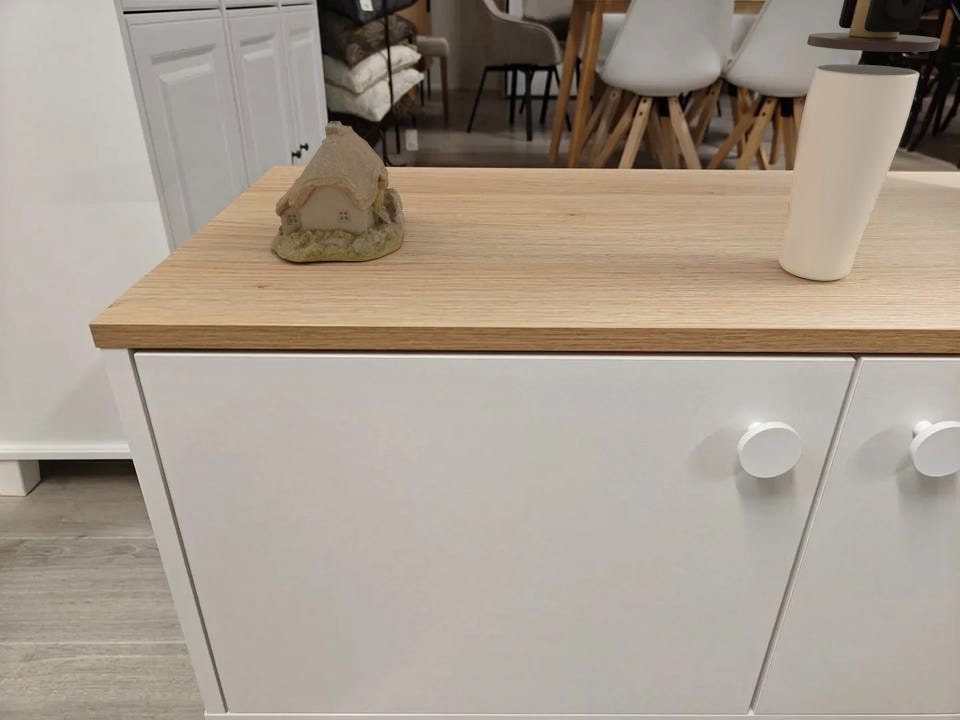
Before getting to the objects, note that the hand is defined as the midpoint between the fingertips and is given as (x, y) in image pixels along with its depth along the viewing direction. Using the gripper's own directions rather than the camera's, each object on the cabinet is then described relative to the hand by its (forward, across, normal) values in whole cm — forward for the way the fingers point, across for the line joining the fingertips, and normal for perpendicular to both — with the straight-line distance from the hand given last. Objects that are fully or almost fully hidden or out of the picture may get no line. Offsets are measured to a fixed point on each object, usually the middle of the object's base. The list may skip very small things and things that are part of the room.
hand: (876, 26), depth 46 cm
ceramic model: (+18, +7, +39) cm, 44 cm away
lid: (+1, 0, 0) cm, 1 cm away
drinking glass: (+18, 0, 0) cm, 18 cm away
